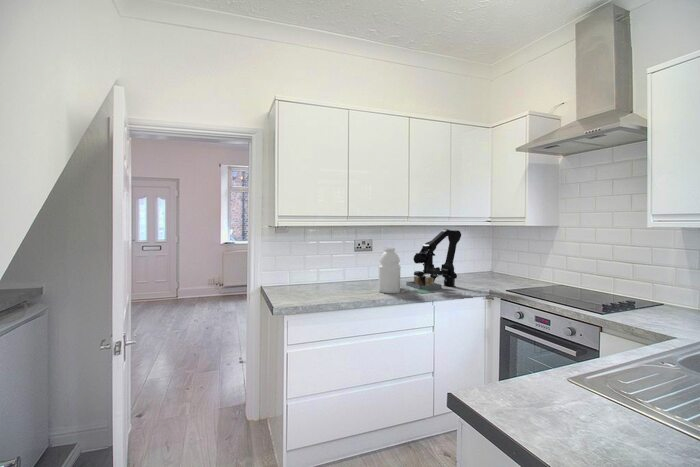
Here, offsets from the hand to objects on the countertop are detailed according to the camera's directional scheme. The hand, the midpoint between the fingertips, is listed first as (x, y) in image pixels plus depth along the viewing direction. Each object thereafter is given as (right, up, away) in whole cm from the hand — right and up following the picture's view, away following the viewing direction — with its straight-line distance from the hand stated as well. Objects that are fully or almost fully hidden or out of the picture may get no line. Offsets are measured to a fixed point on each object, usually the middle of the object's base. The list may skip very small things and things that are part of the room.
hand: (428, 286), depth 223 cm
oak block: (0, -1, 0) cm, 1 cm away
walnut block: (-4, -1, +10) cm, 11 cm away
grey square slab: (-2, -2, +5) cm, 6 cm away
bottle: (-27, -2, -8) cm, 28 cm away
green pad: (-6, -2, -12) cm, 13 cm away
